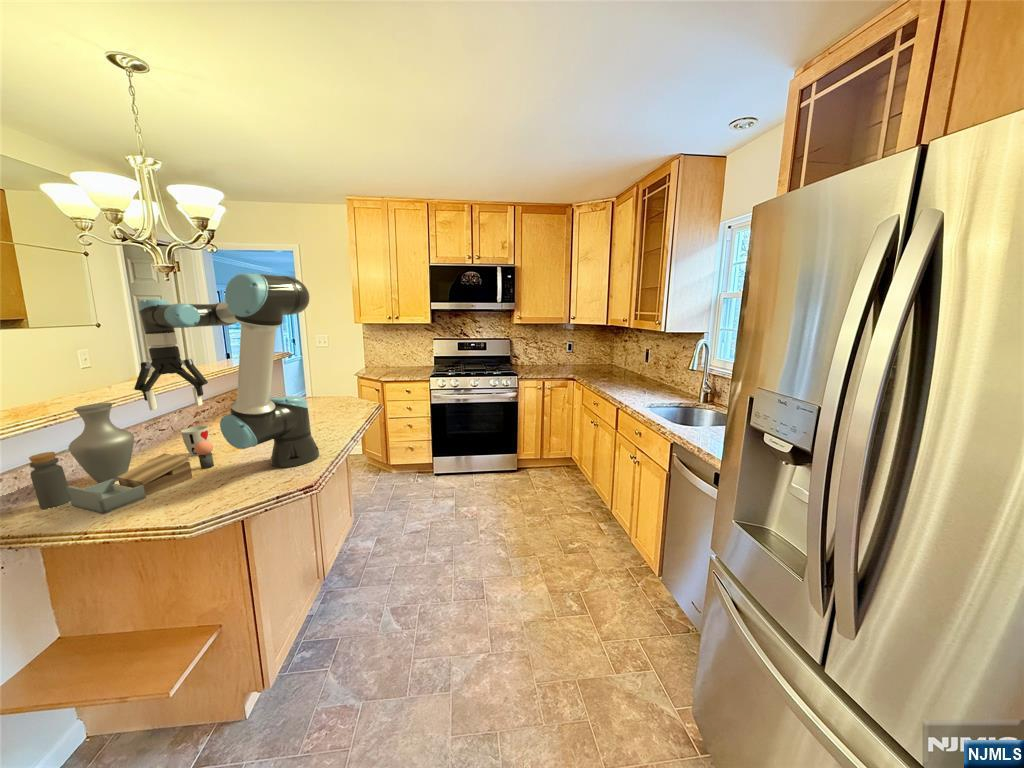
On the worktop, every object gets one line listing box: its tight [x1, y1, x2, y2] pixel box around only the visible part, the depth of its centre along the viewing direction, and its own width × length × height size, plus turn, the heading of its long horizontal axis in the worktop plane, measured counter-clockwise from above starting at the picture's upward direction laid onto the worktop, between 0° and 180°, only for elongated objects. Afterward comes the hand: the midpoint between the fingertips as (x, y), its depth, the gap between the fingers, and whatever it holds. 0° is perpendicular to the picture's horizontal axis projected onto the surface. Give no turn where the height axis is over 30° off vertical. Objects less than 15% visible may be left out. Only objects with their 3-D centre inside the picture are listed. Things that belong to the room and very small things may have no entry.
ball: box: [195, 441, 214, 455], centre depth 131 cm, size 5×5×5 cm
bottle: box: [28, 451, 71, 510], centre depth 107 cm, size 6×6×15 cm
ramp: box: [117, 453, 194, 497], centre depth 119 cm, size 12×13×7 cm
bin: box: [67, 479, 147, 515], centre depth 109 cm, size 15×10×6 cm, turn 71°
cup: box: [180, 425, 211, 457], centre depth 145 cm, size 8×8×10 cm
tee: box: [197, 452, 215, 470], centre depth 132 cm, size 4×4×5 cm
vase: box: [68, 402, 135, 484], centre depth 122 cm, size 14×14×25 cm
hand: (176, 407), depth 132 cm, fingers open, 13 cm apart
